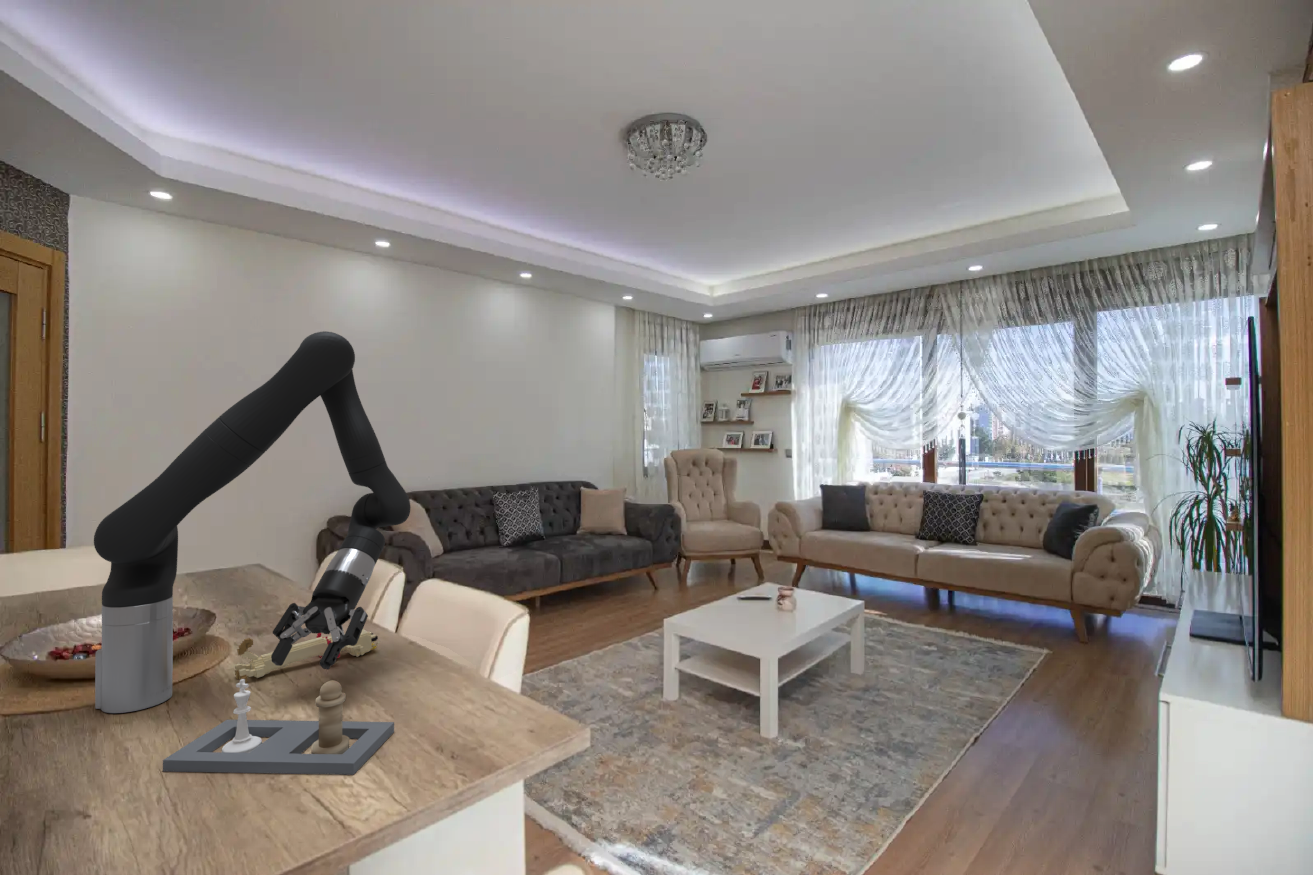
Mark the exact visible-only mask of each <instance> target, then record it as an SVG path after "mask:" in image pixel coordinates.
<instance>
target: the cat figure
mask: <svg viewBox="0 0 1313 875" xmlns="http://www.w3.org/2000/svg"><path fill="white" fill-rule="evenodd" d="M378 640H379V637H378V635H377V634H374V633H373V632H371V631H367V630H366V629H365V628H363V630H362V632H361V634H360V637H359V639H358V642H357V644H356V645H354V646H351V645H347V646H345V647H344V648H342V649H341V651H340V653H339V655H338V657H337V659H339V658H340V657H341V652H345V651H346V652H347V653H349V654H350V655H351V656H353V657H354V656H356V657H359V656H363V655H365V653H368V652H370V651H372V650H375V649H377V647H378V645H379V644H381V641H378ZM332 642H333V641H332V637H331V635H328V636H322V633H317V635H316V637H315V638H312V639H309V640H304V641H301V642H298V643H293V644H292V648H291V650H290V652H289V654H288V655H287V657H286V659H285V661H284V663H283V664H282V665H281V666H277V665H275V664H274V663H273V662H272V658H271V656H272V653H273V652H274V651H271V652H268V653H264V654H260V656H258V655H257V654H255V653H254V652H252V651H249V648H252V646H254V640H253V639H252V638H251V637H247V638H243V640H242V642H240V645H238V648H237V649H236V650H237V655H238V656H240V657H242V658H244V659H248V660H251V661H249V663H247V664H246V663H241V662H240V663H237V664H234V668H235V670H234V675H235V678H236V680H239V681H240V680H241V679H245V684H248V683H249V682H248V678H250V677H254V678H256V679H258V678H261V677H264V676H265V675H268V674H270V673H271V672H272V671H275V670H279V669H282V668H286V667H288V665H291V664H294V663H298V662H300V661H305V660H307V659H311V658H315V657H317V656H319V657H318V658H320V657H322V656H323V654H324V652H325V650H326V649H327V647H328V645H329V643H332ZM375 642H376V643H375Z"/></svg>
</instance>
